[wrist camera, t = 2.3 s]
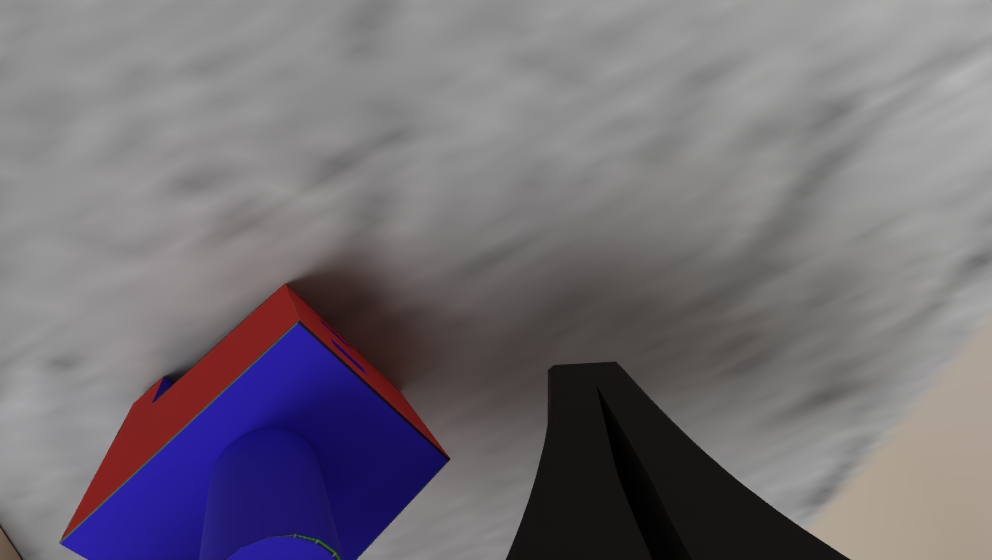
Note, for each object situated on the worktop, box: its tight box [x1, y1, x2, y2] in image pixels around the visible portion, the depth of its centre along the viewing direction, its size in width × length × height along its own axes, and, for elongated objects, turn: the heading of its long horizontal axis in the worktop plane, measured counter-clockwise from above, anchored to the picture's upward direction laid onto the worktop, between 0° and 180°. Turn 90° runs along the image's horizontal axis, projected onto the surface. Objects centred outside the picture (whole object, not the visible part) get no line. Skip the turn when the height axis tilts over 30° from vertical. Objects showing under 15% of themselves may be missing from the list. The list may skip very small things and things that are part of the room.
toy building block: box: [59, 284, 450, 560], centre depth 9 cm, size 4×4×8 cm
